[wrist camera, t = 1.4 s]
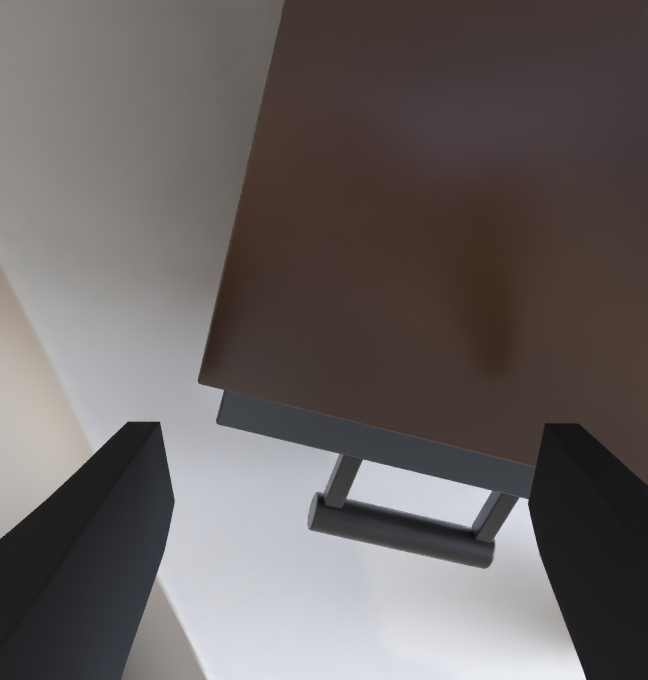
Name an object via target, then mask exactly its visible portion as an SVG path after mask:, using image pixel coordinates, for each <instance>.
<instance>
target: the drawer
mask: <svg viewBox="0 0 648 680" xmlns="http://www.w3.org/2000/svg"><path fill="white" fill-rule="evenodd" d="M216 422H217V424H219V425H223V426H227V427H231V428H235V429H239V430H244V431H248V432H252V433H256V434H260V435H264V436H268V437H273V438H277V439H281V440H285V441H289V442H293V443H298V444H302V445H306V446H310V447H314V448H318V449H322V450H327V451H331V452H335V453H339V456H338V459H337V461H336V464H335V466H334V469H333V471H332V474H331V476H330V479H329V481H328V484H327V486H326V489H325V491H324V493H321V492H316V493H315V495H314V497H313V499H312V502H311V506H310V510H309V515H308V529H309V530H311V531H315V532H320V533H324V534H329V535H333V536H338V537H342V538H347V539H351V540H356V541H360V542H365V543H369V544H374V545H378V546H383V547H387V548H391V549H396V550H400V551H405V552H409V553H414V554H418V555H423V556H427V557H432V558H436V559H441V560H445V561H450V562H454V563H459V564H463V565H468V566H472V567H476V568H481V569H486V568H488V567H489V566H490V565H491V563H492V561H493V558H494V554H495V540H494V537H495V536H496V534H497V533H498V531H499V529H500V528H501V526H502V525H503V523H504V521H505V520H506V518H507V517H508V515H509V513H510V512H511V510H512V509H513V507H514V505H515V504H516V502H517V501H518V499H519V497H522V498H526V499H529V497H530V492H531V487H532V483H533V478H534V473H535V468H536V467H532V466H528V465H524V464H520V463H516V462H512V461H508V460H504V459H500V458H496V457H492V456H488V455H484V454H480V453H476V452H472V451H468V450H464V449H460V448H456V447H452V446H448V445H444V444H440V443H436V442H432V441H428V440H424V439H420V438H416V437H412V436H408V435H404V434H400V433H396V432H392V431H388V430H384V429H379V428H375V427H371V426H367V425H363V424H359V423H355V422H351V421H347V420H343V419H339V418H335V417H331V416H327V415H323V414H319V413H315V412H311V411H307V410H303V409H299V408H295V407H291V406H287V405H283V404H279V403H275V402H271V401H267V400H263V399H259V398H255V397H251V396H247V395H243V394H239V393H235V392H231V391H226V390H224V392H223V396H222V399H221V403H220V407H219V411H218V415H217V419H216ZM363 459H364V460H368V461H372V462H376V463H380V464H385V465H389V466H393V467H397V468H401V469H405V470H410V471H414V472H418V473H422V474H426V475H430V476H434V477H439V478H443V479H447V480H451V481H455V482H459V483H463V484H468V485H472V486H476V487H480V488H484V489H488V490H493V491H492V492H491V494H490V496H489V497H488V499H487V501H486V502H485V504H484V506H483V508H482V509H481V511H480V513H479V514H478V516H477V518H476V519H475V521H474V523H473V525H472V527H467V526H463V525H459V524H454V523H450V522H446V521H441V520H437V519H433V518H429V517H424V516H420V515H416V514H411V513H407V512H403V511H398V510H394V509H390V508H385V507H381V506H377V505H372V504H368V503H364V502H360V501H355V500H351V499H347V498H346V497H347V495H348V493H349V490H350V488H351V486H352V483H353V481H354V479H355V476H356V474H357V472H358V469H359V467H360V465H361V462H362V460H363Z"/></svg>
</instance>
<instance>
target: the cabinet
mask: <svg viewBox="0 0 648 680" xmlns="http://www.w3.org/2000/svg"><path fill="white" fill-rule="evenodd" d="M198 383H199V384H202V385H206V386H210V387H214V388H218V389H222V390H226V391H231V392H235V393H239V394H243V395H247V396H251V397H255V398H259V399H263V400H267V401H271V402H275V403H279V404H283V405H287V406H291V407H295V408H299V409H303V410H307V411H311V412H315V413H319V414H323V415H327V416H331V417H335V418H339V419H343V420H347V421H351V422H355V423H359V424H363V425H367V426H371V427H375V428H379V429H384V430H388V431H392V432H396V433H400V434H404V435H408V436H412V437H416V438H420V439H424V440H428V441H432V442H436V443H440V444H444V445H448V446H452V447H456V448H460V449H464V450H468V451H472V452H476V453H480V454H484V455H488V456H492V457H496V458H500V459H504V460H508V461H512V462H516V463H520V464H524V465H528V466H532V467H536V464H537V459H538V454H539V449H540V445H541V440H542V435H543V430H544V426H545V423H578V424H580V425H581V426H582V427H583V428H584V429H586V430H587V431H588V432H589V433H590V434H591V435H592V436H593V437H595V438H596V439H597V440H598V441H599V442H600V443H601V444H602V445H603V446H604V447H606V448H607V449H608V450H609V451H610V452H611V453H612V454H613V455H614V456H615V457H617V458H618V459H619V460H620V461H621V462H622V463H623V464H624V465H625V466H626V467H628V468H629V469H630V470H631V471H632V472H633V473H634V474H635V475H636V476H638V477H639V478H640V479H641V480H642V481H643V482H644V483H646V484H647V485H648V0H284V5H283V9H282V14H281V18H280V22H279V27H278V31H277V35H276V40H275V44H274V49H273V53H272V57H271V62H270V66H269V70H268V75H267V79H266V83H265V88H264V92H263V97H262V101H261V105H260V110H259V114H258V118H257V123H256V127H255V132H254V136H253V140H252V145H251V149H250V153H249V158H248V162H247V167H246V171H245V175H244V180H243V184H242V188H241V193H240V197H239V202H238V206H237V210H236V215H235V219H234V223H233V228H232V232H231V237H230V241H229V245H228V250H227V254H226V258H225V263H224V267H223V272H222V276H221V280H220V285H219V289H218V293H217V298H216V302H215V307H214V311H213V315H212V320H211V324H210V328H209V333H208V337H207V341H206V346H205V350H204V355H203V359H202V363H201V368H200V372H199V376H198Z"/></svg>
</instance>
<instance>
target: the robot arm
mask: <svg viewBox="0 0 648 680" xmlns="http://www.w3.org/2000/svg"><path fill="white" fill-rule="evenodd" d="M174 502H175V500H174V495H173V489H172V484H171V479H170V473H169V468H168V463H167V457H166V452H165V446H164V441H163V436H162V430H161V425H160V422H127V423H126V424H125V425H124V426H123V427H122V428H121V429H120V430H119V431H118V432H117V433H116V434H115V435H113V436H112V437H111V438H110V439H109V440H108V441H107V442H106V443H105V444H104V445H103V446H102V447H101V448H100V449H99V450H98V451H97V452H96V453H95V454H94V455H93V456H92V457H91V458H90V459H89V460H88V461H87V462H86V463H85V464H84V465H83V466H82V467H81V468H80V469H79V470H78V471H77V472H76V473H75V474H73V475H72V476H71V477H70V478H69V479H68V480H67V481H66V482H65V483H64V484H63V485H62V486H61V487H59V488H58V489H57V490H56V491H55V492H54V493H53V494H52V495H51V496H50V497H49V498H48V499H47V500H46V501H44V502H43V503H42V504H41V505H40V506H39V507H37V508H36V509H35V510H34V511H33V512H31V514H29V515H28V516H27V517H26V518H25V519H23V520H22V521H21V522H20V523H19V524H18V525H16V526H15V527H14V528H13V529H12V530H11V531H9V532H8V533H7V534H6V535H5V536H3V537H2V538H1V539H0V680H121V677H122V674H123V670H124V667H125V664H126V661H127V658H128V655H129V652H130V649H131V646H132V644H133V641H134V638H135V635H136V632H137V629H138V626H139V624H140V621H141V618H142V615H143V612H144V609H145V606H146V603H147V600H148V598H149V595H150V592H151V589H152V586H153V583H154V580H155V577H156V574H157V571H158V568H159V566H160V563H161V560H162V557H163V553H164V550H165V546H166V541H167V537H168V532H169V528H170V523H171V518H172V512H173V507H174ZM528 506H529V511H530V515H531V520H532V524H533V529H534V533H535V537H536V541H537V545H538V549H539V553H540V556H541V559H542V562H543V564H544V567H545V570H546V573H547V575H548V578H549V581H550V583H551V586H552V589H553V592H554V594H555V597H556V600H557V602H558V605H559V607H560V610H561V613H562V615H563V618H564V621H565V623H566V626H567V628H568V631H569V634H570V636H571V639H572V642H573V644H574V647H575V650H576V652H577V655H578V657H579V660H580V663H581V665H582V668H583V671H584V674H585V677H586V680H648V485H647V484H646V483H644V482H643V481H642V480H641V479H640V478H639V477H638V476H636V475H635V474H634V473H633V472H632V471H631V470H630V469H629V468H628V467H626V466H625V465H624V464H623V463H622V462H621V461H620V460H619V459H618V458H617V457H615V456H614V455H613V454H612V453H611V452H610V451H609V450H608V449H607V448H606V447H604V446H603V445H602V444H601V443H600V442H599V441H598V440H597V439H596V438H595V437H593V436H592V435H591V434H590V433H589V432H588V431H587V430H586V429H584V428H583V427H582V426H581V425H580V424H578V423H545V426H544V430H543V435H542V440H541V445H540V449H539V454H538V459H537V464H536V468H535V473H534V478H533V483H532V487H531V492H530V497H529V502H528Z"/></svg>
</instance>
